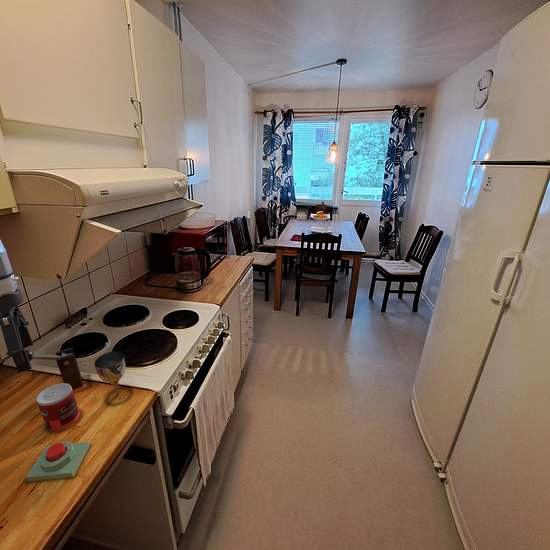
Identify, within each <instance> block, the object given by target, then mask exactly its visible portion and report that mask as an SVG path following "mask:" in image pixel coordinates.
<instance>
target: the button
mask: <svg viewBox="0 0 550 550" xmlns="http://www.w3.org/2000/svg"><path fill="white" fill-rule="evenodd" d="M51 445H52V446H51V447H50V448H49V449H48V450H47V452H46V456H47V459H48V461H50V462H53V461H56V460H59V459H60V458H61V457H63V456H64V454H65V452H66V449H65V446H64V444H63V443H59V442H56V443H54V444H51Z"/></svg>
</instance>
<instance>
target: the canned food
mask: <svg viewBox="0 0 550 550" xmlns="http://www.w3.org/2000/svg"><path fill="white" fill-rule="evenodd" d="M36 404H37V407H38V409H39V411H40V414H41V417H42V419H43V421H44V424H45V427H46V429H47V430H48V431H61V430H64V429H66V428H68V427H69V426H71V425H73V424H74V423H75V422H76V421H77V420H78V419H79V417H80V414H81V413H80V409H79V406H78V403H77V399H76V397H75V393H74V390H72V387H71V386H70V385H69V384H66V383H64V382H62V383H56V384H53V385H50V386H48V387H46V388H44V389H43V390H41V391H40V392H39V393H38V394H37V395H36Z"/></svg>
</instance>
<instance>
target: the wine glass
mask: <svg viewBox="0 0 550 550" xmlns="http://www.w3.org/2000/svg"><path fill="white" fill-rule="evenodd" d="M93 363H94V364H93V365H94V368H95V372H96V374H97V376H98V377H99V379H100V380H101V381H102V382H105V383H107V384H111V385H112V386H113V387H114V389H115V390H114V391H115V393H116V396H120V395H121V393H120V389H119V382H120V381H121V380H122V378H123V376H124V375H125V373H126V369H127V364H126V363H127V361H126V357H125V354H124V353H123V352H122V351H117V350H115V351H109V352H106V353H103V354H102V355H99V356H98V357H97V358H96V359H95V360H94V362H93Z"/></svg>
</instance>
